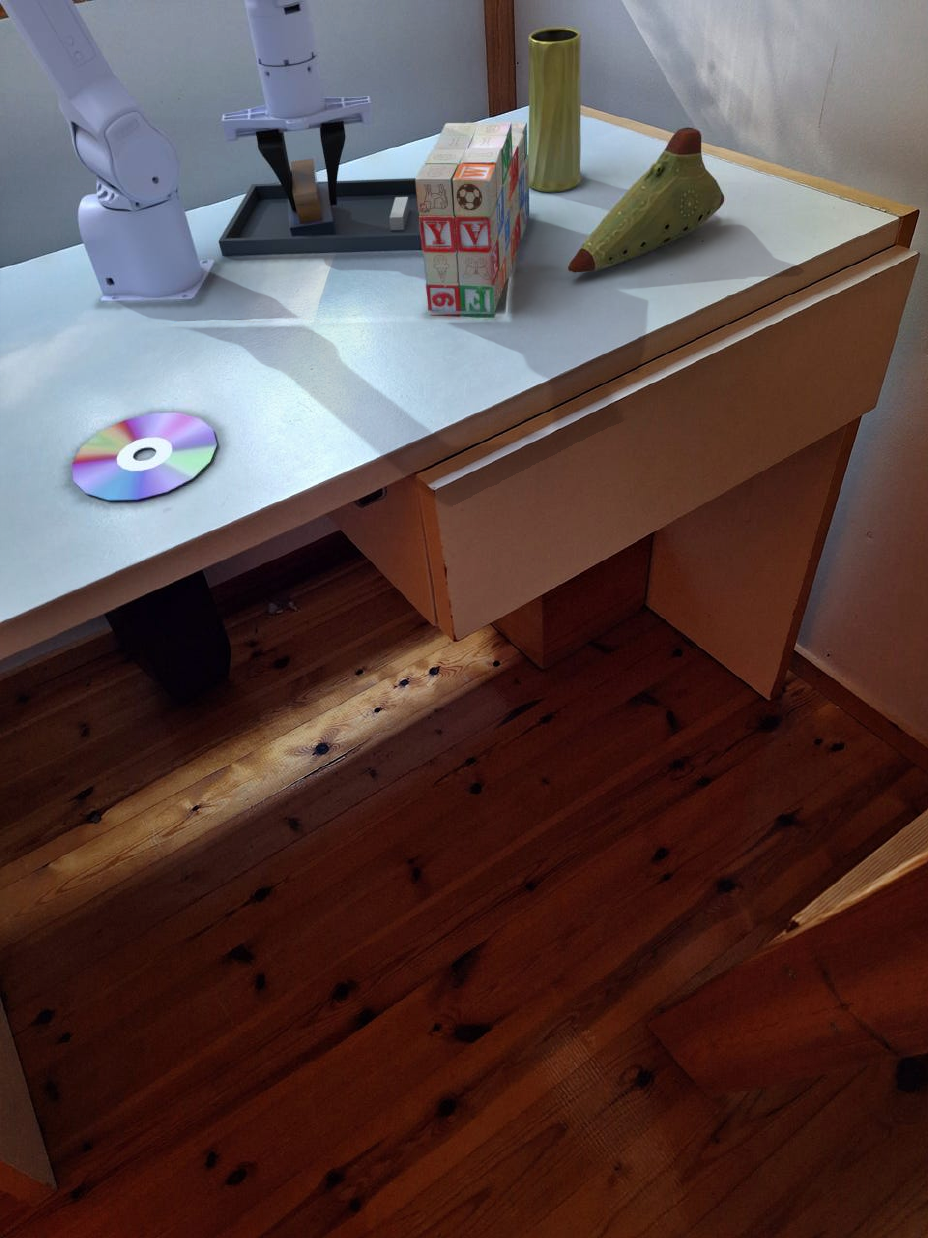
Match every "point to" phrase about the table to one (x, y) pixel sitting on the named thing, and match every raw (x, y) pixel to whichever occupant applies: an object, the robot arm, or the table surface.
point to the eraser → (309, 202)
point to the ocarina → (655, 207)
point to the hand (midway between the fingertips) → (314, 203)
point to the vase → (554, 109)
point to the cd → (121, 477)
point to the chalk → (399, 213)
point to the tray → (355, 219)
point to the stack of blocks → (472, 213)
